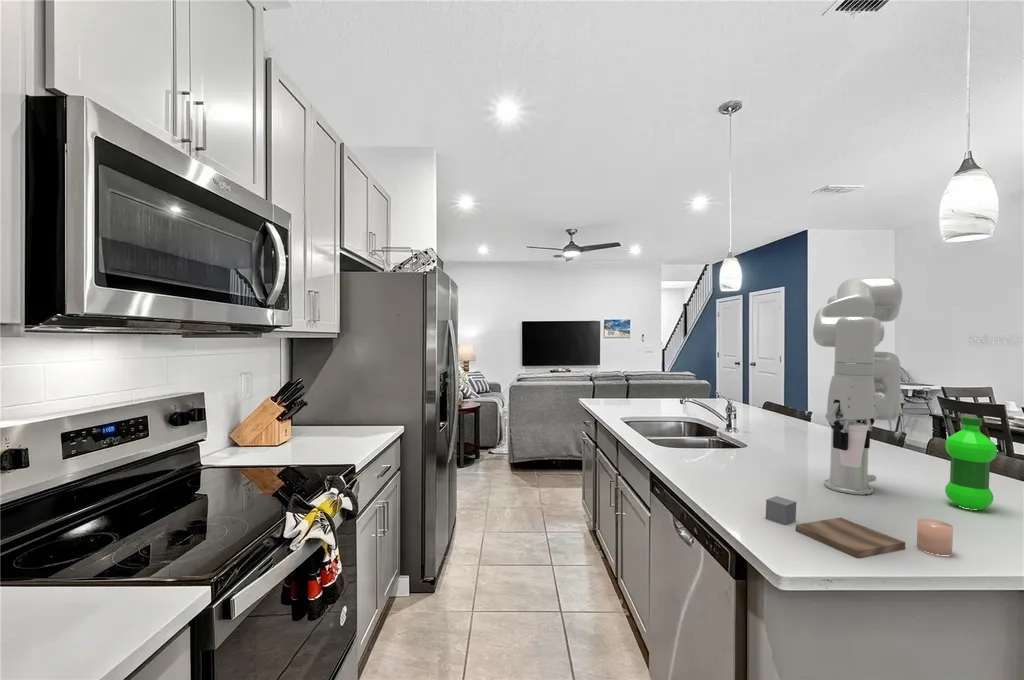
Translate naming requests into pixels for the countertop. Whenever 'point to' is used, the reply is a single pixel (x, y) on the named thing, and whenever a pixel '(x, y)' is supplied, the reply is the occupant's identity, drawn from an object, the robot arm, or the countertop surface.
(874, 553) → the walnut board
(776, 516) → the rubber block
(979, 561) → the countertop surface
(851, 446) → the smoothie
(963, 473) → the plastic bottle
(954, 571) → the countertop surface
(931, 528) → the peach rounded cylinder
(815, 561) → the countertop surface
